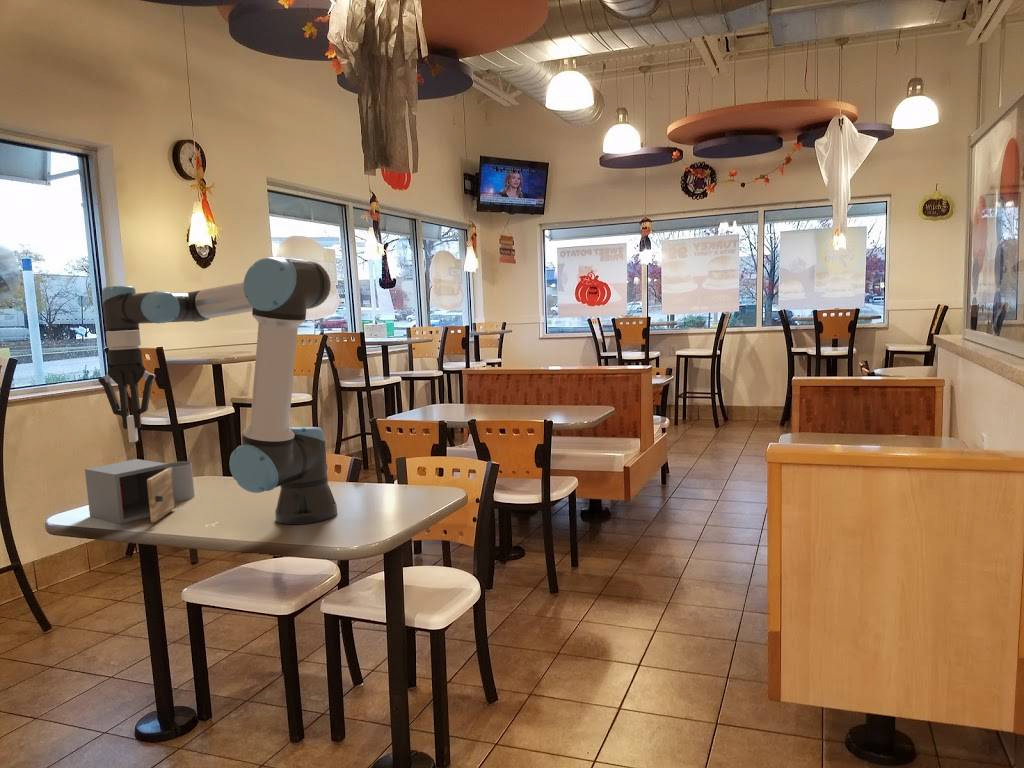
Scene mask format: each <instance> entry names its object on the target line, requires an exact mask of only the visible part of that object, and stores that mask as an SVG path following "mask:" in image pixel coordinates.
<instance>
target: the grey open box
mask: <svg viewBox="0 0 1024 768" xmlns="http://www.w3.org/2000/svg"><path fill="white" fill-rule="evenodd" d="M167 468H168V464H167V463H166V462H158V461H153V460H152V461H151V460H146V459H145V460H144V459H140V458H139V459H138V458H136V459H130V460H126V461H120V462H114V463H110V464H104V465H99V466H94V467H89V468H84V474H85V484H86V491H87V503H88V511H89V517H90V518H94V519H98V520H102V521H106V522H108V523H109V522H110V523H114V524H118V525H123V524H127V523H131V522H135V521H139V520H141V519H142V520H143V519H146V518H149V517H150V507H149V497H148V487H147V479H149V478H151V477H153V476H154V475H156V474H158V473H160V472H162V471H164V470H165V469H167ZM150 518H151V517H150Z"/></svg>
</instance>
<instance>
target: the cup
mask: <svg viewBox="0 0 1024 768" xmlns="http://www.w3.org/2000/svg"><path fill="white" fill-rule="evenodd" d="M167 464H168V468H172V474H173V485H174V495H175V503H176V502H184V501H188V500H190V499H193V498H194V497H195V495H196V494H195V486H194V474H193V465H192V464H193V463H192V462H191V461H174V462H168V463H167Z"/></svg>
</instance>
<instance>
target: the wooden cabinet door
mask: <svg viewBox="0 0 1024 768" xmlns="http://www.w3.org/2000/svg"><path fill="white" fill-rule="evenodd" d="M147 487H148V497H149V507H150V523H156V522H158V521H159V520H160V519H162V518H163V517H164V516H166V515H168V514H169V513H170V512H172V511H173V510H175V509H176V502H175V495H174V485H173V474H172V468H167V469H165V470H164V471H162V472H160V473H158V474H156V475H154V476H153V477H151V478H149V479H147Z"/></svg>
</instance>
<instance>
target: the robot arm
mask: <svg viewBox="0 0 1024 768" xmlns="http://www.w3.org/2000/svg"><path fill="white" fill-rule="evenodd" d="M331 285H332V284H331V278H330V276H329V273H328V271H327V270H326V269H325V268H324V267H323V266H322V265H321V264H320V263H318V262H315V261H313V260H310V259H302V258H301V259H300V258H291V257H290V258H289V257H282V256H273V257H271V256H270V257H264V258H263V257H262V258H260V259H259V260H257V261H255V262H254V263H253V264H252V265H251V266H250V267H249V268H248V269H247V271H246V273H245V276H244V280H243V282H237V283H233V284H227V285H222V286H221V285H220V286H216V287H210V288H205V289H201V290H194V291H190V292H189V291H188V292H171V291H170V292H168V291H162V290H161V291H158V290H155V291H150V292H149V291H148V292H138V293H137V292H136V288H135V286H131V285H116V286H114V285H113V286H112V285H111V286H105V287H103V288H102V291H101V295H102V296H101V299H102V300H101V301H102V303H101V305H102V310H103V320H104V327H105V339H106V347H107V349H109V350H108V351H107V359H108V369H107V374H104V375H103V376H102V377H99V378H98V383H99V384H100V385H101V386H102V387H103V390H104V391H105V395H106V398H107V400H108V402H109V405H110V408H111V411H112V413H113V415H116V416H121V418H122V428H123V429H124V430H127V434H128V443H137V442H138V441H139V433H138V429H140V428H141V427H142V420H141V414H143V413H146V412H148V410H149V404H150V398H151V391H152V386H153V383H154V381H155V379H156V376H157V375H156V374H155V373H150V371H149V372H148V371H147V370H146V368H145V366H144V361H143V353H142V352H143V351H142V349H141V348H139V347H140V346H141V344H142V343H141V333H140V325H139V324H167V323H181V322H182V323H183V322H196V323H198V322H205V321H209V320H210V319H214V318H220V317H226V316H232V315H238V314H239V315H240V314H244V313H250V312H251V315H252V317H253V318H254V319H255V320H256V321H257V323H258V325H257V326H258V327H257V336H256V337H257V339H256V352H255V362H254V375H253V387H252V398H251V399H252V401H251V412H250V422H249V423H250V424H249V426H247V427H246V428H244V430H243V431H242V435H241V437H242V438H241V445H238V446H237V447H236V448H235V449H234V450H233V451H232V452H231V454H230V456H229V463H228V465H229V471H230V473H231V475H232V478H233V479H234V480H235V481H236V482H237V485H238V486H239V487H241V489H243V490H244V491H247V492H249V493H254V494H258V493H264V492H271V491H273V490H274V489H275V488H277V487H280V490H279V495H278V499H277V504H276V508H275V513H274V514H275V521H276V522H277V523H279V524H284V525H306V524H307V525H308V524H313V523H318V522H322V521H325V520H328V519H331V518H334V517H335V516H336V515H337V514H338V506H337V505H338V504H337V502H336V501H335V498H334V495H333V493H332V490H331V488H330V485H329V481H328V478H329V477H328V466H327V464H328V462H327V453H326V452H327V451H326V444H327V443H326V439H325V432H324V430H323V429H322V428H321V427H317V426H295V427H294V426H290V417H291V409H292V407H291V406H292V396H293V395H292V394H293V385H294V373H295V365H296V364H295V361H296V351H297V343H298V342H297V341H298V340H297V339H298V332H299V330H298V328H299V327H300V325H302V324H303V323H304V322H306V319H307V318H306V316H307V310H309V309H315V308H318V307H319V306H321V305H322V304H323V303H325V301H326V300H327V298H328V297H329V295H330V292H331ZM142 378H143V380H144V385H143V386H144V387H143V393H142V399H141V404H140V395H139V383H140V381H141V380H142ZM111 379H112V380H111ZM112 381H114V383H115V384H116V385H117V389H118V394H119V402H118V399H117V397H116V394H115V390H114V388H113V386H112V384H111V382H112ZM128 386H129V390H130V398H131V405H132V407H131V408H132V414H131V415H130V413H131V412H130V409H129V399H128V398H129V396H128V390H127V388H128Z"/></svg>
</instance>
